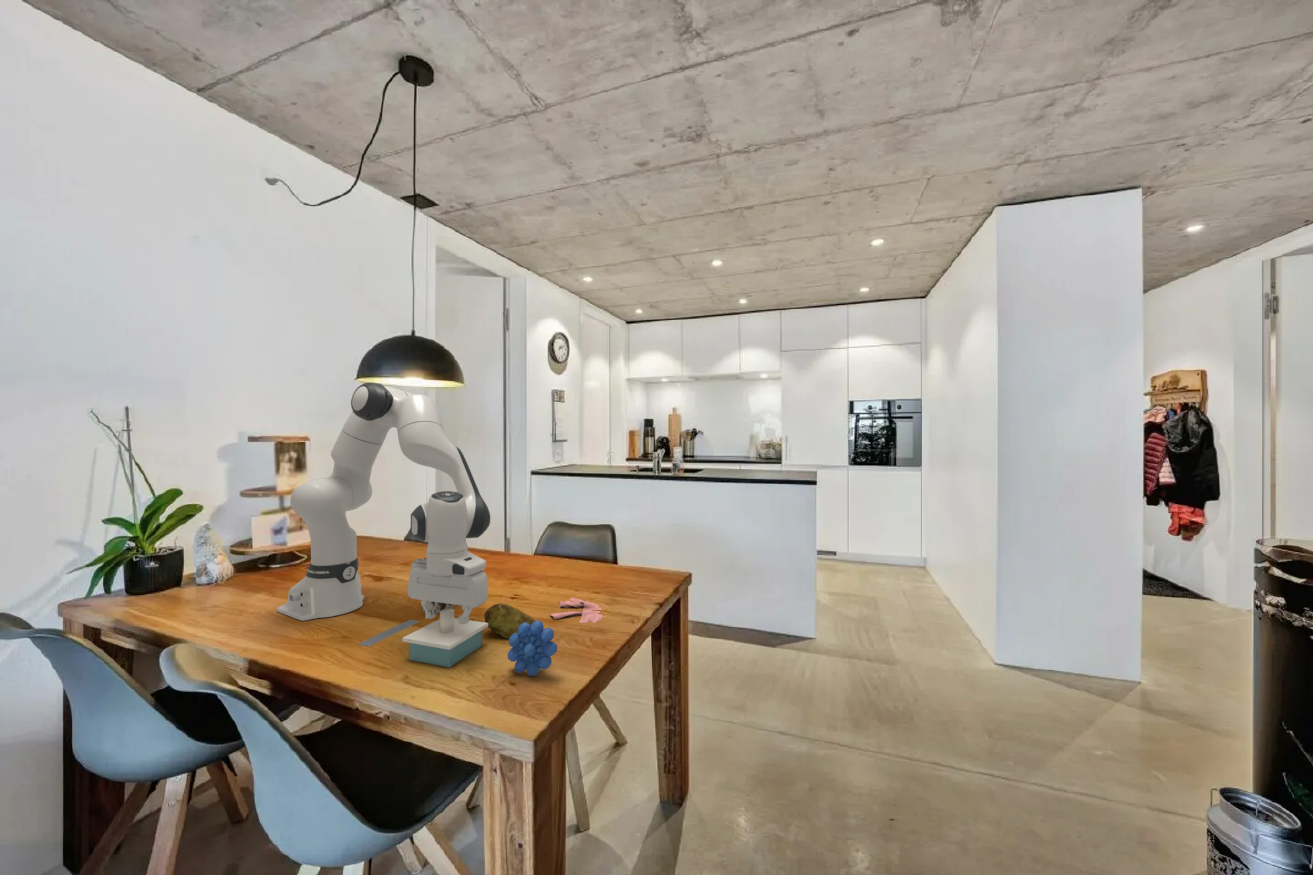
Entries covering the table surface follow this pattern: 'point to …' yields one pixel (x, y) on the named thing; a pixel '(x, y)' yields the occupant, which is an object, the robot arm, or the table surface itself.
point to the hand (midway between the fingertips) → (446, 620)
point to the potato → (505, 619)
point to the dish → (444, 652)
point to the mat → (388, 633)
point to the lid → (445, 631)
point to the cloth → (586, 613)
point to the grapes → (532, 648)
